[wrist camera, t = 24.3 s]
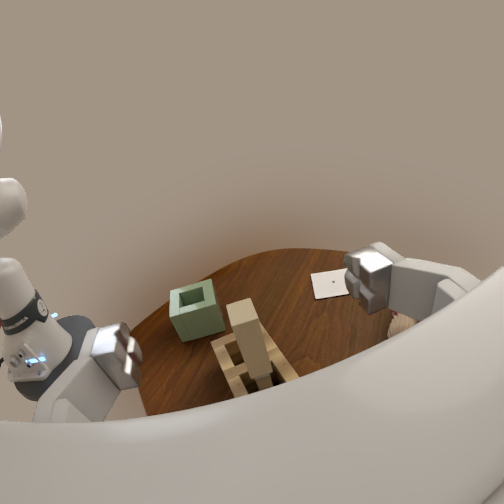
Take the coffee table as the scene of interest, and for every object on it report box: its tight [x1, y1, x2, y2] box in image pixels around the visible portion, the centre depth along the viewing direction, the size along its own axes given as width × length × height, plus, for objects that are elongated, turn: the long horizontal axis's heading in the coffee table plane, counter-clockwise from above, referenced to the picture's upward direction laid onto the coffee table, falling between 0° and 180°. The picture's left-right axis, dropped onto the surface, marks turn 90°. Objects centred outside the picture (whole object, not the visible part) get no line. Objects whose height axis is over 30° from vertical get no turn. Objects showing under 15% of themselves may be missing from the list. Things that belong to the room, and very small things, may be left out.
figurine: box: [387, 310, 420, 339], centre depth 37 cm, size 6×4×15 cm
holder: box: [169, 279, 226, 342], centre depth 48 cm, size 8×8×6 cm
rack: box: [211, 322, 299, 398], centre depth 31 cm, size 20×8×5 cm, turn 22°
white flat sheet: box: [311, 268, 349, 299], centre depth 50 cm, size 8×8×1 cm
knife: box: [226, 298, 273, 391], centre depth 28 cm, size 2×4×16 cm, turn 13°
